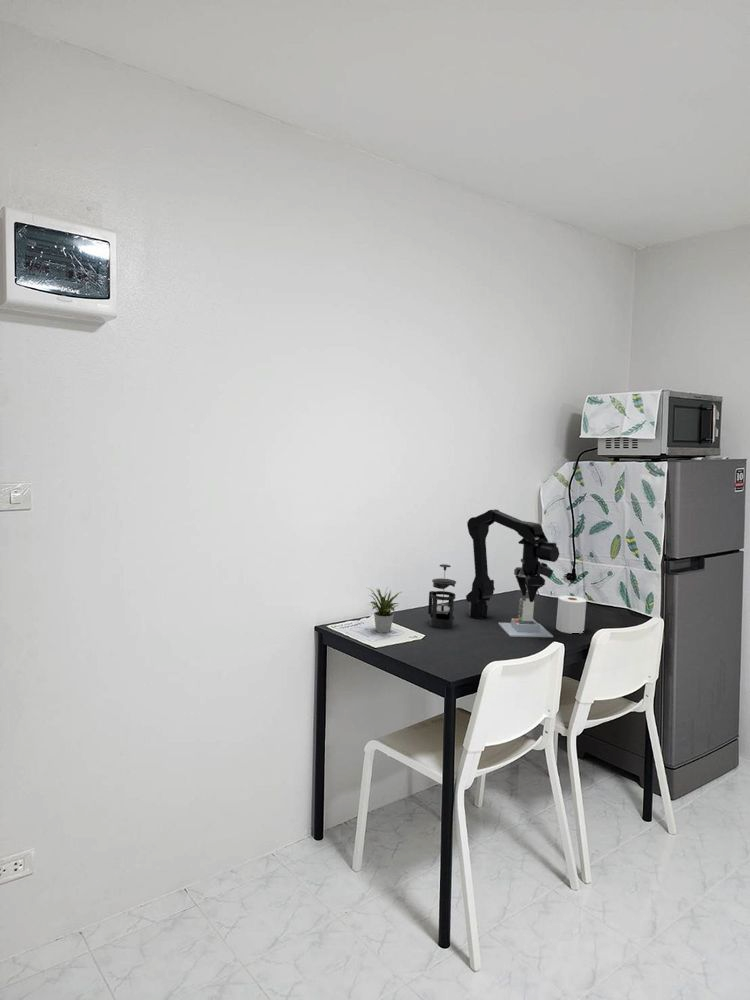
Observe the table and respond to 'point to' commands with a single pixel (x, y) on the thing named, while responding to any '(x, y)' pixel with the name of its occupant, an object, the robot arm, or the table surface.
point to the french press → (439, 618)
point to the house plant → (383, 611)
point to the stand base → (524, 629)
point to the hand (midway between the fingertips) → (527, 598)
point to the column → (526, 609)
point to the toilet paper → (571, 614)
